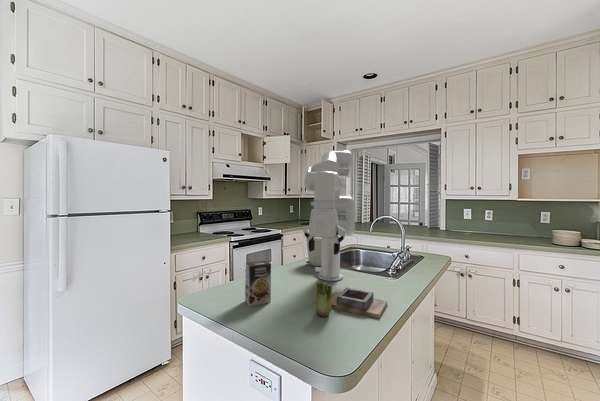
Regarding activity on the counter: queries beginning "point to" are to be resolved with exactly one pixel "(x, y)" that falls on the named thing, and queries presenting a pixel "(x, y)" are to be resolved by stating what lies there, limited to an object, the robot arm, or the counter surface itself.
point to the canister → (315, 252)
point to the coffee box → (258, 283)
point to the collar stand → (358, 302)
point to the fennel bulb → (323, 299)
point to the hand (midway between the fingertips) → (323, 252)
